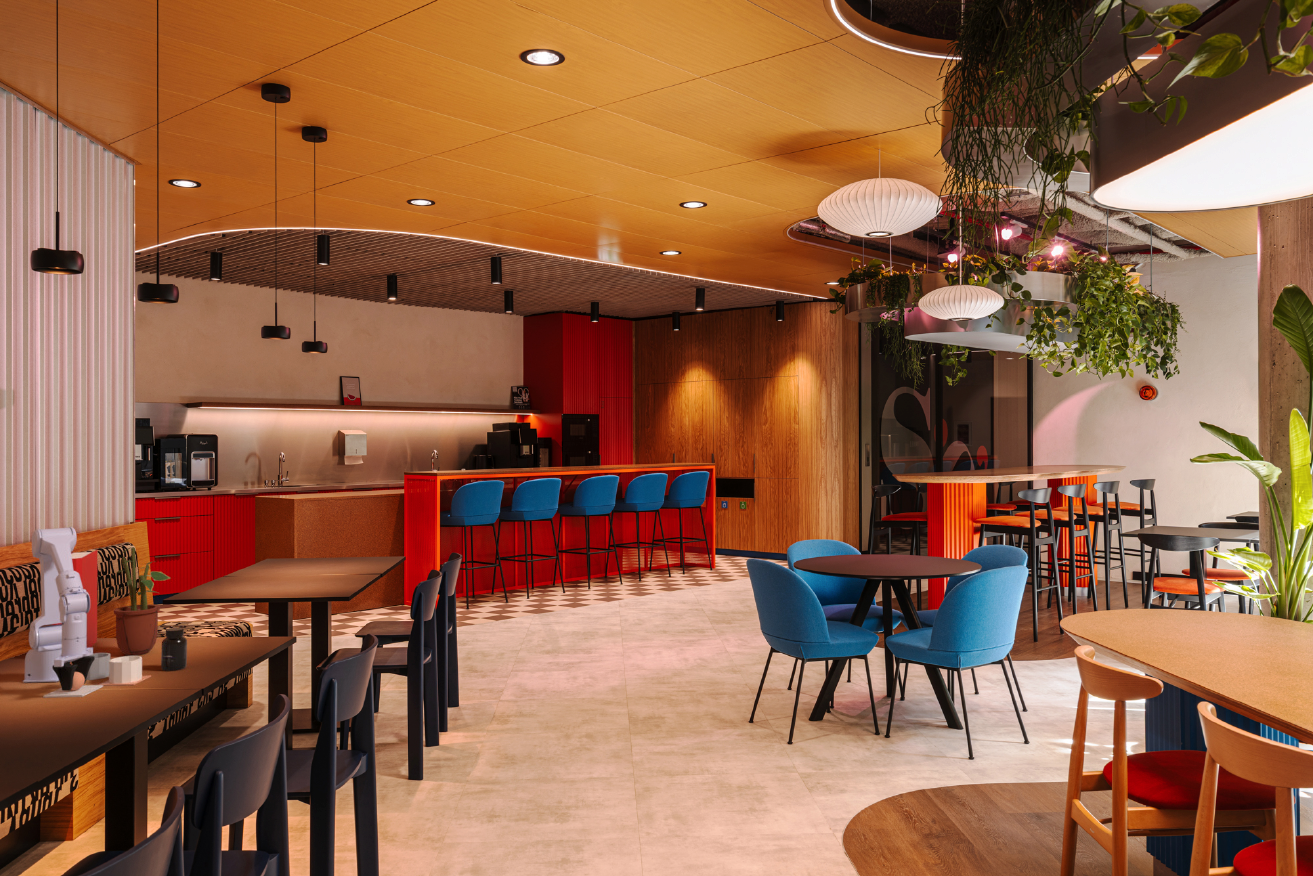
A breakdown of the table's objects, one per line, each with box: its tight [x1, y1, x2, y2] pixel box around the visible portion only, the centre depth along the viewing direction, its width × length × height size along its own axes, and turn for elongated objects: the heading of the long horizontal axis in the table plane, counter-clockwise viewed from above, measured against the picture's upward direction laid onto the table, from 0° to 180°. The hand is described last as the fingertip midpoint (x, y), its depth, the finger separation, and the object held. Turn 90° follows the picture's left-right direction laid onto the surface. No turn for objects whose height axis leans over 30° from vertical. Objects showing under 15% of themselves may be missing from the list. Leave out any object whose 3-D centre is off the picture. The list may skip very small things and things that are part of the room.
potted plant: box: [111, 546, 171, 656], centre depth 290 cm, size 17×16×35 cm
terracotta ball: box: [70, 672, 86, 691], centre depth 241 cm, size 5×5×5 cm
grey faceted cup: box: [86, 652, 111, 681], centre depth 258 cm, size 8×8×6 cm
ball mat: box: [43, 684, 104, 699], centre depth 241 cm, size 10×10×1 cm
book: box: [51, 549, 98, 648], centre depth 292 cm, size 27×8×32 cm, turn 23°
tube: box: [99, 655, 152, 687], centre depth 252 cm, size 10×10×6 cm
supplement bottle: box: [160, 627, 188, 672], centre depth 267 cm, size 7×7×12 cm
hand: (73, 687), depth 241 cm, fingers open, 6 cm apart
